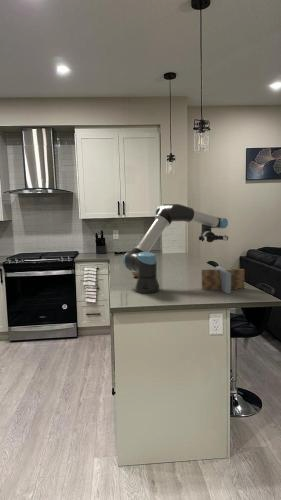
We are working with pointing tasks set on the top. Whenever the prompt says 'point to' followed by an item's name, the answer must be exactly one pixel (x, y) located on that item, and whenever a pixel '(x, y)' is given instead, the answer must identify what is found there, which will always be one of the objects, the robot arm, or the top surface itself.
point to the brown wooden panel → (213, 280)
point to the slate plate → (225, 279)
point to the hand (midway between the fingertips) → (216, 239)
